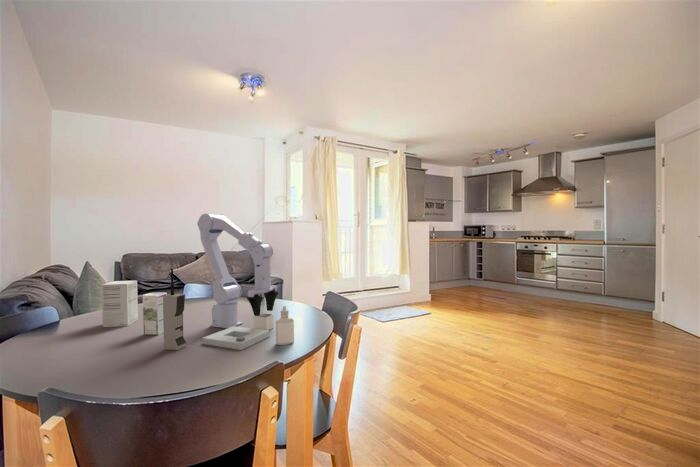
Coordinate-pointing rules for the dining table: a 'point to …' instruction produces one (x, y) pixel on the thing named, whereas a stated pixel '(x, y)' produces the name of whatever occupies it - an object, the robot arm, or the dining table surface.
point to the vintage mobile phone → (173, 319)
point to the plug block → (263, 321)
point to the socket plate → (236, 337)
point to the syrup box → (153, 313)
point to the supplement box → (119, 303)
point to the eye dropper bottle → (284, 328)
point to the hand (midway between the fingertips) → (263, 312)
